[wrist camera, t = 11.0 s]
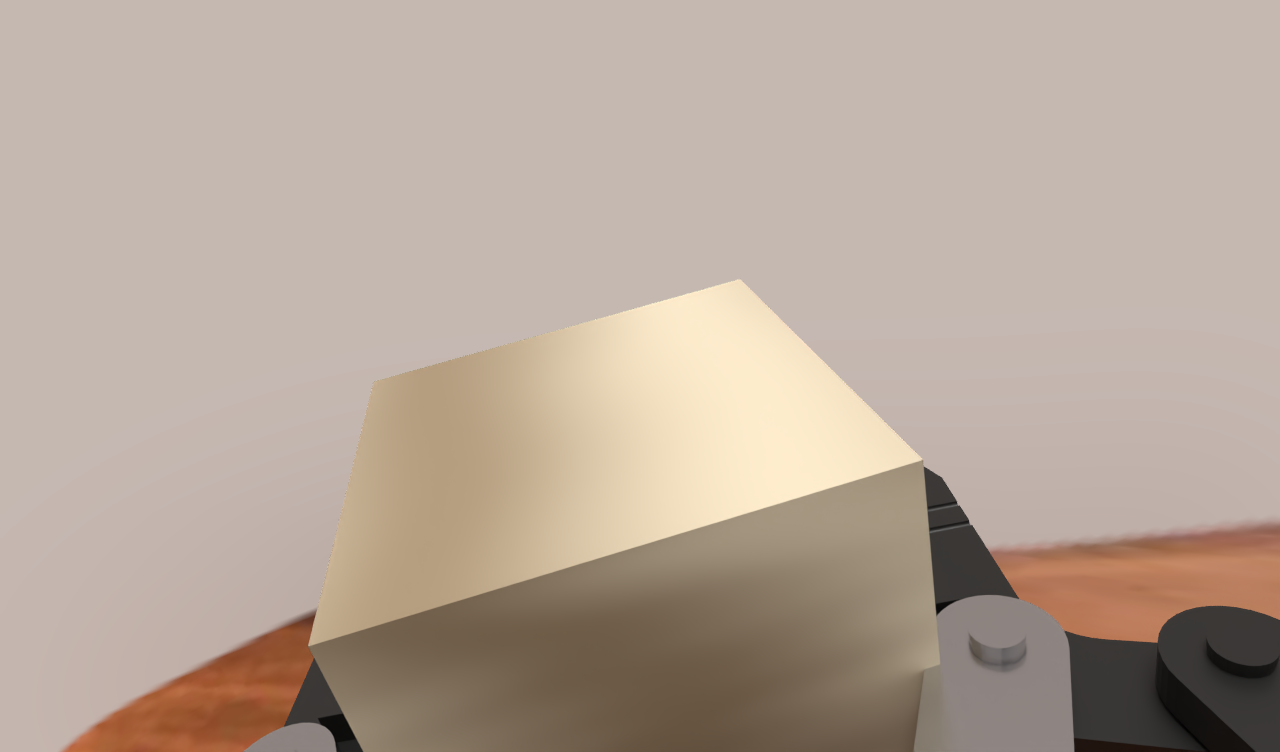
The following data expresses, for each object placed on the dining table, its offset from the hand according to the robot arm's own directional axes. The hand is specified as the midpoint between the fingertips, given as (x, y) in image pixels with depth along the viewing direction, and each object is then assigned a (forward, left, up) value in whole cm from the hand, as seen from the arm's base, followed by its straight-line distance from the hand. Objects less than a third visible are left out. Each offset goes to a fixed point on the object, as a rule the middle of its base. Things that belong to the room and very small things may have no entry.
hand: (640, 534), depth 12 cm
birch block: (0, +2, -6) cm, 7 cm away
